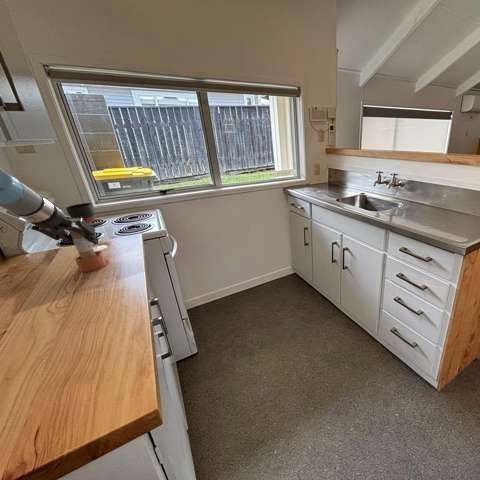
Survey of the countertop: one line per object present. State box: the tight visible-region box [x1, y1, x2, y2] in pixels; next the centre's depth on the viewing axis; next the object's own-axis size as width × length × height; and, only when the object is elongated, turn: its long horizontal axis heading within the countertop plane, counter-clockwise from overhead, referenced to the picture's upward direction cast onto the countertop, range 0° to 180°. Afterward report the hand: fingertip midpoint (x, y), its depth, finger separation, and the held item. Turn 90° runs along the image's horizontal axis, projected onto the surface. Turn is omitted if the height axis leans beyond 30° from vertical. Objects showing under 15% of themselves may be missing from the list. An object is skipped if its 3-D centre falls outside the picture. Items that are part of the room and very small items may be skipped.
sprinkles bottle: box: [68, 231, 96, 260], centre depth 94 cm, size 5×5×14 cm
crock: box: [74, 250, 107, 273], centre depth 97 cm, size 8×8×5 cm
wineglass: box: [65, 202, 108, 252], centre depth 112 cm, size 8×9×20 cm
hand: (89, 242), depth 98 cm, fingers closed on sprinkles bottle, 4 cm apart
